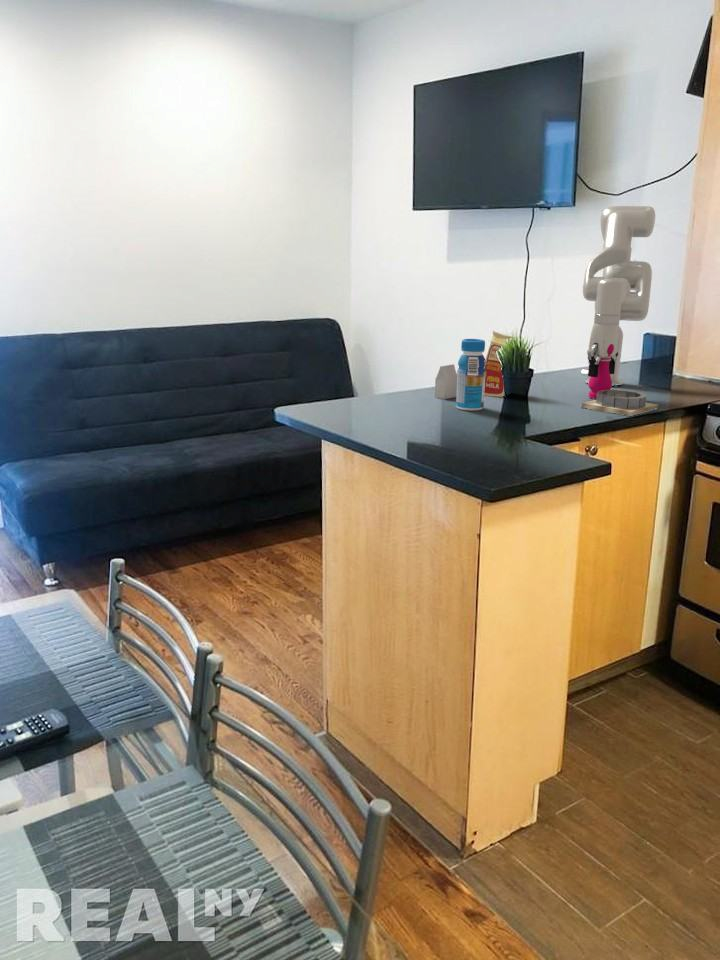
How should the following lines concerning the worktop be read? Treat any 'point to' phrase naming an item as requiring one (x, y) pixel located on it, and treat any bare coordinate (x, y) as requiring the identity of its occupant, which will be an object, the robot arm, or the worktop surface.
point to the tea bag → (446, 382)
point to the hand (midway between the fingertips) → (601, 375)
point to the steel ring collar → (621, 399)
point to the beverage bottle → (471, 375)
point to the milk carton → (494, 367)
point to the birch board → (618, 410)
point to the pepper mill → (602, 375)
